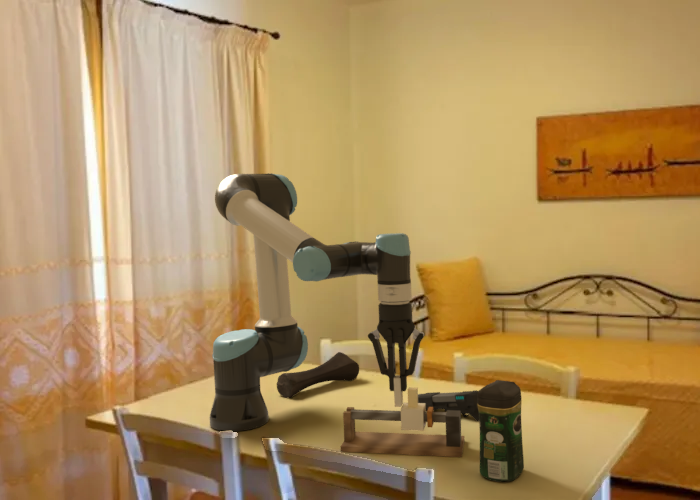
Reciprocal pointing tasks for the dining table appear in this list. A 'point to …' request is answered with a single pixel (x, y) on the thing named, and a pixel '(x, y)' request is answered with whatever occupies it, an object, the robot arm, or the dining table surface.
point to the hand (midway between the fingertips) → (398, 404)
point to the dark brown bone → (318, 375)
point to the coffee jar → (500, 431)
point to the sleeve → (413, 412)
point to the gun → (453, 402)
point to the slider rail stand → (400, 441)
